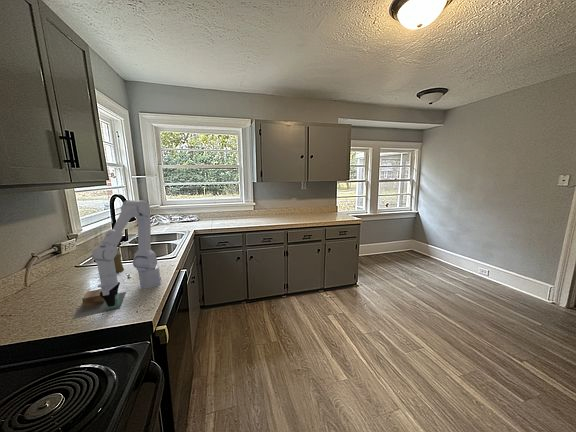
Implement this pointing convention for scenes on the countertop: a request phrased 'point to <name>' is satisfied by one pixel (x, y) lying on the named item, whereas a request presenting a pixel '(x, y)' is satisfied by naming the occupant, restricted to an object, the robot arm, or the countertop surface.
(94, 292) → the walnut block
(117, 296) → the teal block
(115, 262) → the cork
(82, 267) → the countertop surface
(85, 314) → the mat
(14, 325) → the countertop surface
